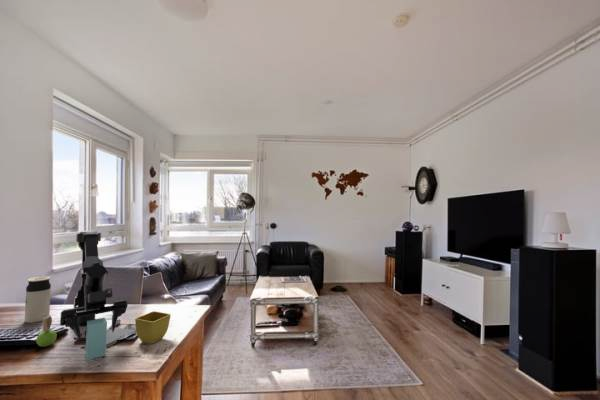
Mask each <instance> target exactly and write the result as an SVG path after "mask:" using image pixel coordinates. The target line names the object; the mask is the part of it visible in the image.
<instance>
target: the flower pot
mask: <svg viewBox="0 0 600 400" xmlns="http://www.w3.org/2000/svg"><path fill="white" fill-rule="evenodd" d="M170 319H171V314H170V313H167V312H161V311H154V310H152V311H150V312H148V313H145V314H143V315H140V316H137V317H135V319H134V321H135V333H136V335H137V337H138V338H139V340H140V342H141V343H146V344H155V343H156V342H158V341H160V340H162V339H163V338H164V337H165V335H166V333H167V332H168V329H169V326H170V322H171V321H170Z"/></svg>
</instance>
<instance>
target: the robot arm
mask: <svg viewBox="0 0 600 400" xmlns="http://www.w3.org/2000/svg"><path fill="white" fill-rule="evenodd" d="M75 236H76V237H75V238H76V239H75V242H76V243H77V247H78V248H79V249H80V250H81V253H82V254H81V268H80V271H79V275H80V276H79V278H80V279H81V282H80V283H81V285H80V287H79V288H78V290H77V291H76V295H75V296H74V298H73V299H74V300H73V307H72V308H68V309H67V308H65V309H63V310H61V312H60V316H59V317H60V319H59V320H60V321H59V326H63V327H64V326H65V327H66V328H70V330H71V331H73V333H74V334H75V335H76V338H77V339H78V340H81V328H80V326H82V327H85V326H87V321H90V320H95V319H96V315H100V314H104V313H109V312H112V313H111V314H112V316H111V329H112V332H114V329H115V327H116V325H117V321H118V319H119V317H122V315H124V314H126V312H127V309H128V300H126V299H120V300H114V301H113V305H108V306H106V305H107V299H111V298H112V297H113V288H112V287H109V288H105V290H104V283H105V279H106V276H107V274H109V270H108V269H107V268H106V266H105V265H104V262H103V260H102V259H100V257H99V249H98V245H99V242H101V241H102V239H101V238H102V232H98V231H97V230H80V231H79V233H76V235H75Z"/></svg>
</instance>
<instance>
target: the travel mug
mask: <svg viewBox="0 0 600 400" xmlns="http://www.w3.org/2000/svg"><path fill="white" fill-rule="evenodd" d="M50 279H51V276H37V277H35V276H34V277H31V278H28V279H27V281H28V284H27V286H26V289H25V306H24V307H25V308H24V323H29V324H31V323H32V324H33V323H34V324H35V323H39V322H43V321H42V320H43V315H47V316H50V308H51V307H50V306H51V292H52V291H51V289H52V288H51V287H52V284H51V283H50ZM47 316H44V318H46V317H47Z"/></svg>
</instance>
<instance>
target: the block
mask: <svg viewBox="0 0 600 400" xmlns="http://www.w3.org/2000/svg"><path fill="white" fill-rule="evenodd" d="M107 329H108V321H107V319H106V317H102V318H95V320H90V321H87V325H86V335H85V359H86V360H87V361H90V360H93V359H97V358H100V357H101V358H102V357H103V356H106V355H107V354H106V353H107V347H106V335H107V331H108V330H107Z"/></svg>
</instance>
